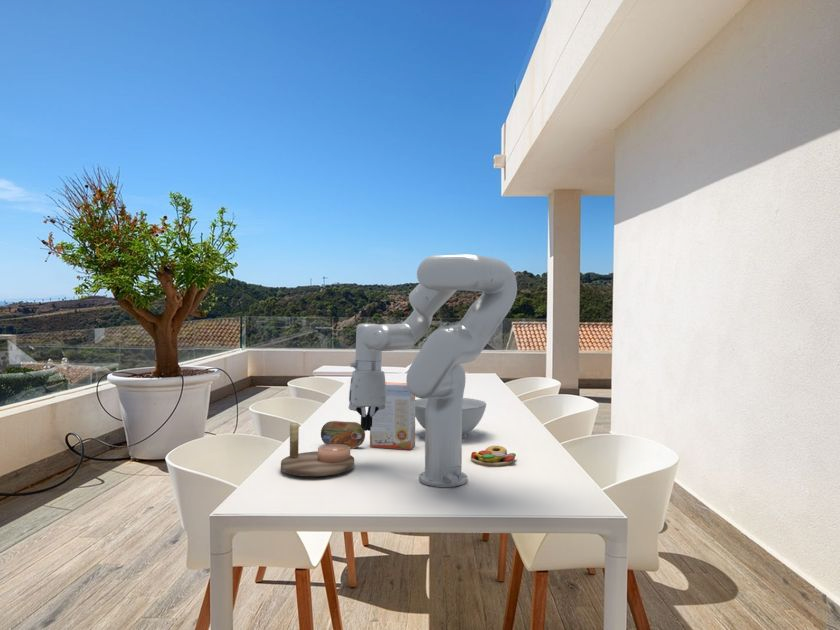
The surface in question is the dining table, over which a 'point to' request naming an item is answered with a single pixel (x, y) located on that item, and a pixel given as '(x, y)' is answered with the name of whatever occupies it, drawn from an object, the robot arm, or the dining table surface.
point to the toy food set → (493, 456)
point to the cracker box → (395, 419)
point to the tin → (343, 433)
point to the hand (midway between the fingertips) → (366, 429)
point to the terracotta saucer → (333, 453)
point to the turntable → (309, 460)
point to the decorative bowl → (470, 413)
